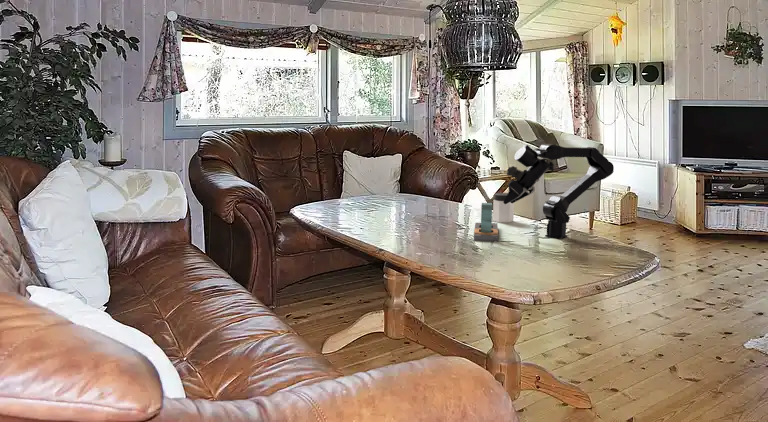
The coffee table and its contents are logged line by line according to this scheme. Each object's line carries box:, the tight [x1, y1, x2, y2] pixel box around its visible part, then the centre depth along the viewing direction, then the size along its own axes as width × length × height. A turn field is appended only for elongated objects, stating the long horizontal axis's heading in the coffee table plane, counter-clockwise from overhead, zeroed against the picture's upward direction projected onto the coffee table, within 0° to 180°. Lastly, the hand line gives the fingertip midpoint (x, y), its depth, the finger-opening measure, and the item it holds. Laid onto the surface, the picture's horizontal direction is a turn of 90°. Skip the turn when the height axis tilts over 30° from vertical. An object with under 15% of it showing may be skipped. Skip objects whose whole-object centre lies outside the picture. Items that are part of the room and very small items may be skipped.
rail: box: [473, 222, 499, 242], centre depth 256 cm, size 26×9×2 cm, turn 170°
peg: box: [480, 202, 493, 232], centre depth 250 cm, size 4×4×13 cm
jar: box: [492, 192, 515, 224], centre depth 283 cm, size 9×8×12 cm
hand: (507, 203), depth 250 cm, fingers open, 9 cm apart
